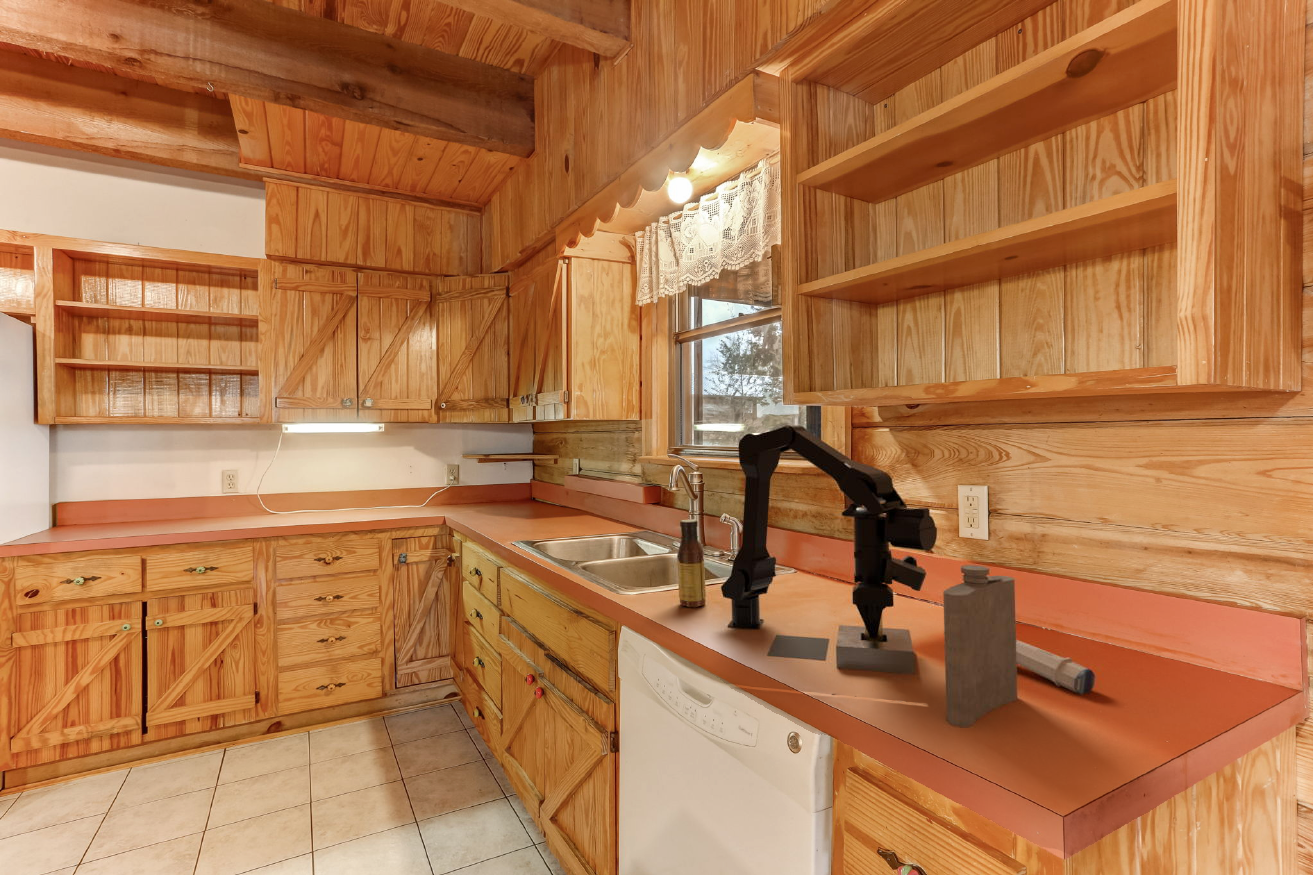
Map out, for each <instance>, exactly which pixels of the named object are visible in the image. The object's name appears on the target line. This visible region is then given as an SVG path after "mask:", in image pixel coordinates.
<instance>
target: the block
mask: <svg viewBox="0 0 1313 875" xmlns="http://www.w3.org/2000/svg"><path fill="white" fill-rule="evenodd" d="M837 631H838V632H837V638H836V644H835V657H836V659H835V660H836V661H835V662H836V669H845V670H846V669H848V670H859V671H868V672H869V671H870V672H881V673H894V674H895V673H896V674H906V675H915V654H914V652H915V651H914V645H913V642H912V637H911V632H910V631H911V630H910V629H907V628H906V629H905V628H892V627H891V628H890V627H889V628H888V627H883V642H877V641H865V632H864V626H863V625H862V626H861V625H860V626H859V625H843V624H839V626H838V630H837Z"/></svg>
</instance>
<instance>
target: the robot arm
mask: <svg viewBox="0 0 1313 875" xmlns="http://www.w3.org/2000/svg"><path fill="white" fill-rule="evenodd" d="M737 448H738V459H739V461H738V462H739V465H740V467H741V469H742V472H743V475H745V476H744V477H745V483H744V484H745V486H744V499H743V500H744V501H743V516H742V517H743V519H742V532H741V533H742V534H741V537H742V538H741V547H740V548H739V549H738V552H737V554H736V555H735V557H734V558H733V562H732V567H731V570H730V571H731V572H730V576H729V577H728V578H727V579H726V581H725V582H723V584H722V585H721V586H720V589H721V593H722V596H723V598H726V599H730V600H731V620H730V622H728V625H727V628H732V629H746V630H747V629H748V630H760V628H761V627H762V625H763V624H764V621H765V620H764V619H763V618H760V617H761V614H760V612H761V611H760V596H761V595H763V594H764V595H767V594H768V590H769V587H770V585H771V584H772V582H773V580H774V577H777V575H776V565H777V564H776V563H777V558H776V556H771V555H770V553H769V551H768V549H767V539H768V536H767V535H768V524H769V523H768V520H769V509H770V508H769V506H770V491H771V490H770V489H771V480H772V479H771V478H772V476H773V475H774V472H775V471H776V469H777V468H778V465H779V463H780V458H781V454H783V453H785V452H789V451H791V450H792V451H793V452H795V453H796V454H797V455H799V456H800V457H802V458H803V459H805V460H806V461H808V462H809V463H811V465H814V467H816V468H817V469H819V470H821V471H822V472H823V473H825V474H827V475H828V476H829V477H831V478H832V480H834V481H835V482H836V484H837V486H838V489H839V490H840V491H841V492H842V494H844V495H845V496H846V497H847V498H848V499H849V500H850V501H851V502H850V504H849V505H848V507H847V508H846V509H844V510H843V511H842V513H841V515H842V517H850V518H853V558H854V560H853V561H854V570H853V571H854V572H853V573H854V574H853V576H854V584H856V585H854V586H853V587H852V593H851V594H852V605H855V607H856V608H857V611H858V613H859V615H860V618H861V620H862V622H863V625H864V624H865V626H866V629H867V631H868V633H869V636H870V637H871V638H877V636H878V631H879V626H880V620H881V616H883V612H884V610H885V609H886V608H891V607H895V606H894V591H893V589H892V587H890V586H889V585H893V582H896V583H899V584H902V585H904V586H906V587H910V588H911V590H914V591H918V592H920V591H921V589H922V587H923V584H924V581H925V579H926V575H927V571H926V570H925V569H924V568H923V567H922V566H918V563H917V559H916V557H914V556H912V555H911V556H910V555H909V554H907V555H906V556H904V557H903V558H902V559H901V558H895V557H892V551H891V549H890V545H891V546H893V547H894V548H901V549H908V550H917V551H925V552H930V551H932V549H933V548H934V547H935V545H936V542H937V536H938V529H937V528H938V527H937V526H936V523H935V519H934V518H933V517H932V516H931V515H930V514H931V513H930V508H929V507H919V508H917V507H916V508H915V507H908V506H907V504H906V503H905V501H904V499H902V497H901V496H900V494H899V492H898V491H897V489H896V488H895V487H894V484H893V478H892V477H891V476H890V474H888V473H887V472H885V471H884V470H880V469H879V468H877V467H874V466H873V465H872V466H871V465H868V464H866V463H861V462H859V461H855V460H853V459H851V458H850V457H848V456H846V455H845V454H843V453H842V452H840V451H838V450H837V449H835V448H834V447H833V446H831V445H830V444H828V443H826V442H825V441H823V440H822V439H820V438H819V437H817V436H816V435H815V434H813V433H811V432H810V431H808V430H807V429H806V428H805V427H804V426H803V425H800V424H797V425H796V424H795V425H791V424H789V425H784V426H781V427H779V428H776V429H773V430H769V431H765V432H759V433H757V432H755V433H746V434H744V435H743V437H742V438H740V439H739V442H738V447H737Z"/></svg>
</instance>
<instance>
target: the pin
mask: <svg viewBox="0 0 1313 875" xmlns="http://www.w3.org/2000/svg"><path fill="white" fill-rule="evenodd" d="M883 620H884V617H883V615H882V616H881V620H880V626H879V631H878V636H877V638H871V637H870V636H869V633H868V631H867V629H866V626H865V624H864V623H863V625H864V626H863V627H864V632H865V641H877V642H883V628H884V627H883V626H884V624H883V622H884V621H883Z"/></svg>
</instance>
